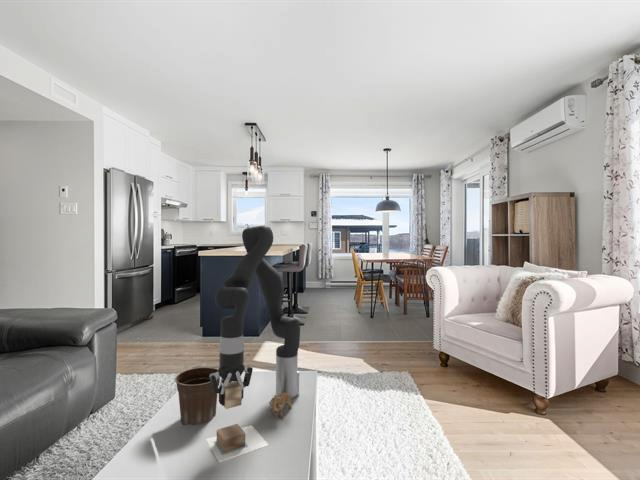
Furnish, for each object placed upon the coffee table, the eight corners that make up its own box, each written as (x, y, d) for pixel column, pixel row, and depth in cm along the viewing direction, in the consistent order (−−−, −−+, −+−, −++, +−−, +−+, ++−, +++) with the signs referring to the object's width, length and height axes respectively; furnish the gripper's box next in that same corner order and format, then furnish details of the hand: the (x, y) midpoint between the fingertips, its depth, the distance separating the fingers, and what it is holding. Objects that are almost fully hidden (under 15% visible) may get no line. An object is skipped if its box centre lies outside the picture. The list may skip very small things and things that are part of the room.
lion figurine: (281, 424, 124) (281, 399, 124) (267, 422, 125) (267, 398, 125) (293, 405, 138) (293, 383, 138) (280, 404, 139) (281, 382, 139)
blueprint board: (251, 427, 121) (251, 424, 121) (268, 448, 110) (268, 444, 110) (205, 442, 112) (205, 439, 112) (219, 465, 101) (219, 462, 101)
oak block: (235, 398, 114) (236, 380, 114) (241, 405, 109) (241, 386, 109) (220, 402, 111) (221, 384, 111) (226, 409, 107) (226, 389, 107)
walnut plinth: (237, 435, 115) (237, 423, 115) (245, 446, 109) (245, 433, 109) (216, 442, 111) (216, 429, 111) (223, 453, 105) (223, 440, 105)
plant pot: (206, 433, 118) (207, 386, 118) (164, 427, 121) (165, 382, 121) (228, 410, 134) (229, 369, 134) (191, 406, 137) (191, 365, 137)
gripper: (248, 342, 117) (247, 392, 117) (205, 349, 109) (205, 403, 109) (257, 348, 111) (256, 401, 111) (212, 356, 103) (212, 413, 103)
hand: (231, 402), depth 110 cm, fingers closed on oak block, 5 cm apart
